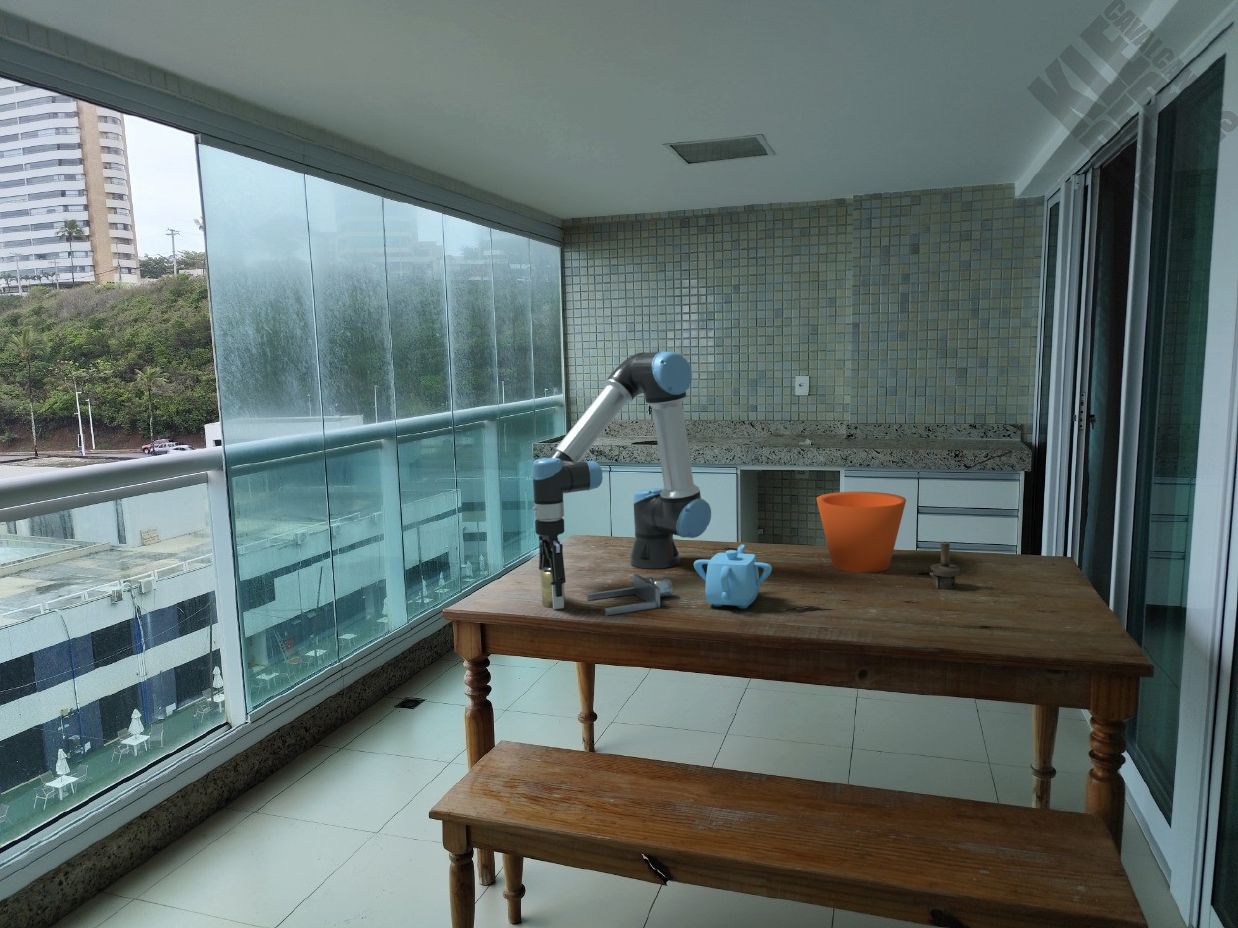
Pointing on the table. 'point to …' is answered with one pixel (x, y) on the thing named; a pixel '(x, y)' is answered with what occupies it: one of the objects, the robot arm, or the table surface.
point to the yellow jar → (548, 587)
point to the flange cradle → (642, 588)
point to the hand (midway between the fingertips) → (553, 602)
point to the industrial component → (944, 569)
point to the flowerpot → (861, 528)
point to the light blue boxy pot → (732, 578)
